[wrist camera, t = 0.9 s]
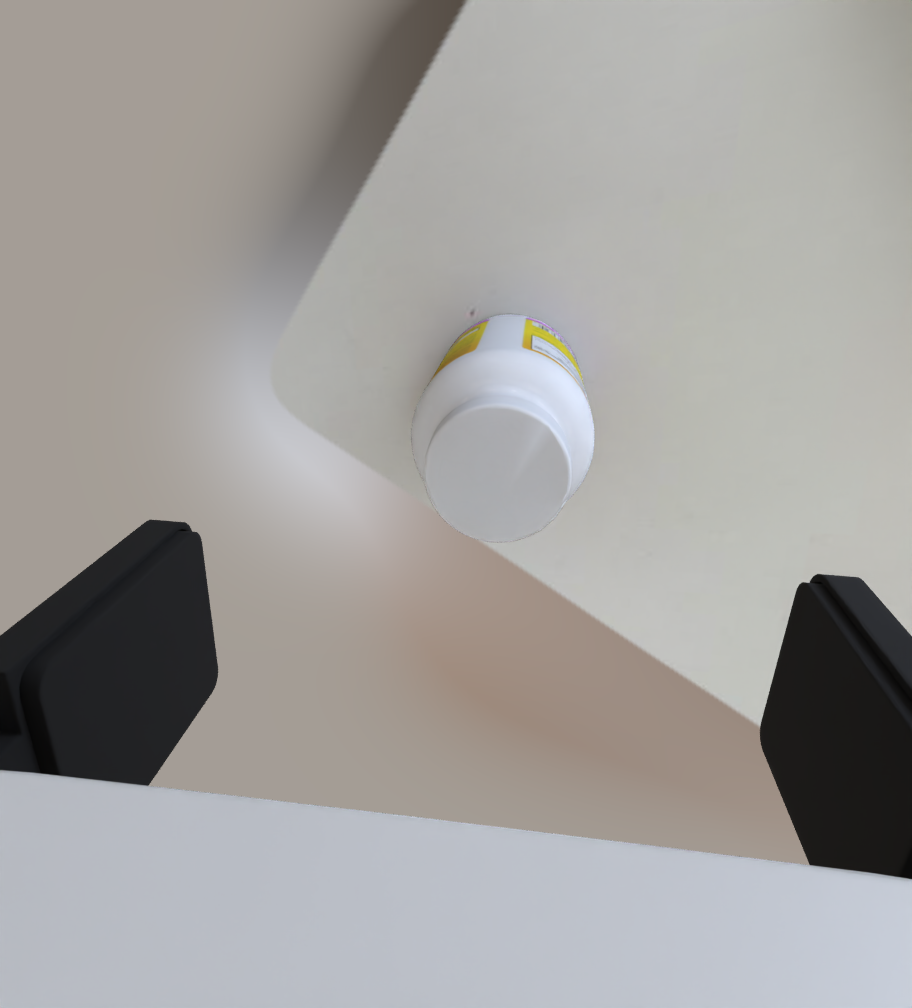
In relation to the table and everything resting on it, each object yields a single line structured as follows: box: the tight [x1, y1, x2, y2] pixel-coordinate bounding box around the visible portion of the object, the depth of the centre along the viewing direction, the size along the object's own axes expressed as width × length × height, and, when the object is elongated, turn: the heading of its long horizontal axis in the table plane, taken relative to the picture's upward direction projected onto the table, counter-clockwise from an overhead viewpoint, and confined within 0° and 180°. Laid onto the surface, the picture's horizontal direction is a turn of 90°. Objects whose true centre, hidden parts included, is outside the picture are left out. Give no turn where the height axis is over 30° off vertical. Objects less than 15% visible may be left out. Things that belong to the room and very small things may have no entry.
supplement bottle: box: [411, 314, 594, 543], centre depth 27 cm, size 7×7×13 cm
